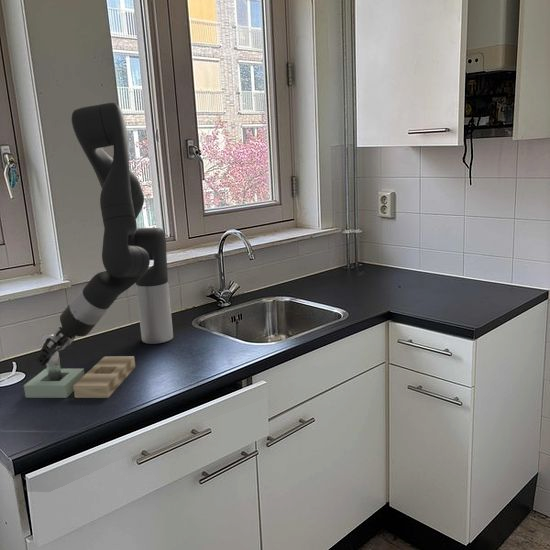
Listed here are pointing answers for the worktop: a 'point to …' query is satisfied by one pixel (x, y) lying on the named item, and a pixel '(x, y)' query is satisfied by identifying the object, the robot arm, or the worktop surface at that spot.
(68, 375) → the holder block
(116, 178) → the robot arm
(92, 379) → the notched wooden block
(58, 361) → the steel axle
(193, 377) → the worktop surface
